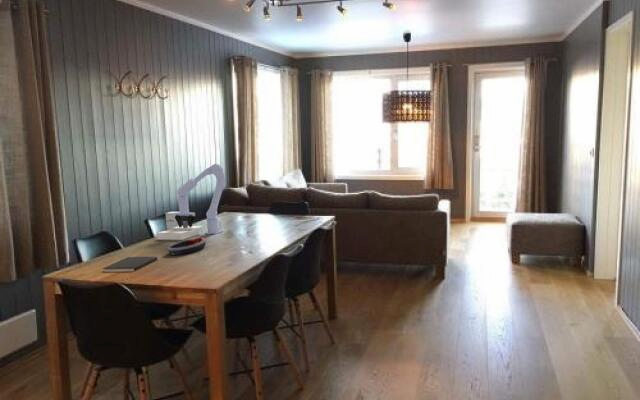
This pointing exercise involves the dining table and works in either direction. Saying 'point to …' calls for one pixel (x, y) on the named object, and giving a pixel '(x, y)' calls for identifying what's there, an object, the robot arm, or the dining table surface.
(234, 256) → the dining table surface
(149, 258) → the hardcover book
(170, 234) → the carton
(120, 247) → the dining table surface
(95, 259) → the dining table surface
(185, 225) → the flap
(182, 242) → the dish
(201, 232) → the dining table surface
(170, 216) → the supplement box
